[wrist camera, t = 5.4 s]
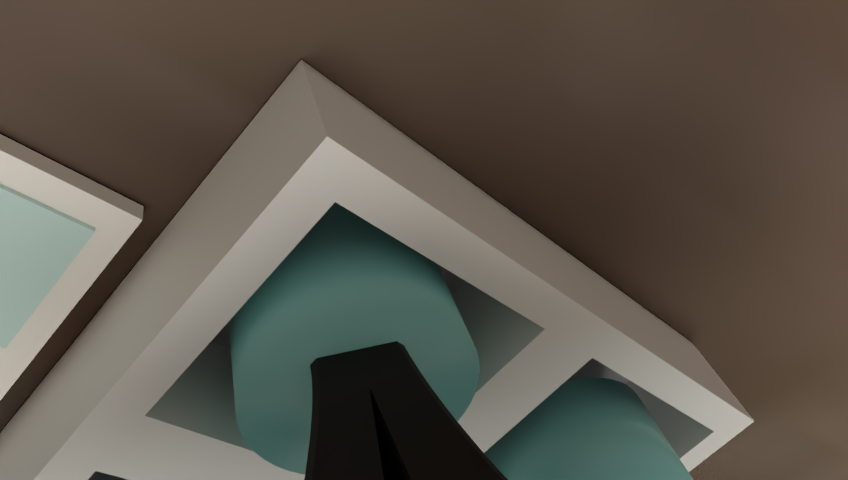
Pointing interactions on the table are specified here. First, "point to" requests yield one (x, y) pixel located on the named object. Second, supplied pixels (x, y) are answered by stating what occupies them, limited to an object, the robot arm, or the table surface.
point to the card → (50, 248)
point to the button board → (271, 243)
